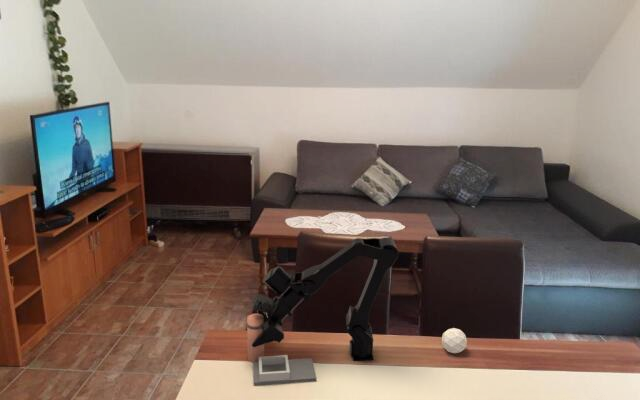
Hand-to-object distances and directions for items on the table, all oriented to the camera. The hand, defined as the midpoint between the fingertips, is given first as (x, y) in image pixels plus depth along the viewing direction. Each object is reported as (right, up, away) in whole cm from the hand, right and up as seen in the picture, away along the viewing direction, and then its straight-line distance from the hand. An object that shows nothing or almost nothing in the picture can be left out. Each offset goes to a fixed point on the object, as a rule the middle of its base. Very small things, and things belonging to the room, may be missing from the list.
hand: (251, 338), depth 154 cm
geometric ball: (+64, -7, +9) cm, 65 cm away
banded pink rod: (+1, -7, +2) cm, 7 cm away
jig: (+10, -9, -5) cm, 14 cm away
